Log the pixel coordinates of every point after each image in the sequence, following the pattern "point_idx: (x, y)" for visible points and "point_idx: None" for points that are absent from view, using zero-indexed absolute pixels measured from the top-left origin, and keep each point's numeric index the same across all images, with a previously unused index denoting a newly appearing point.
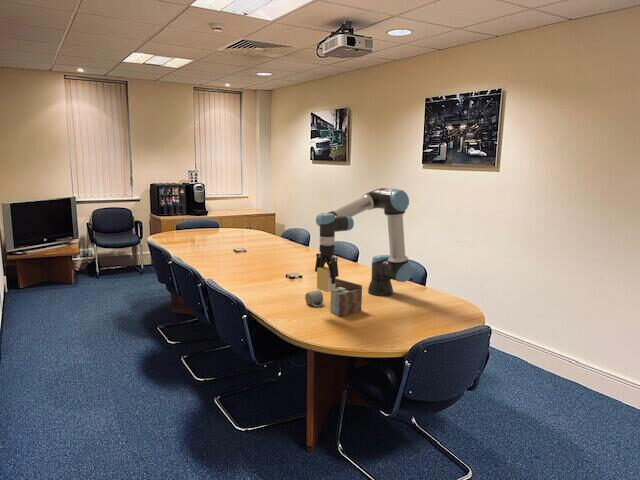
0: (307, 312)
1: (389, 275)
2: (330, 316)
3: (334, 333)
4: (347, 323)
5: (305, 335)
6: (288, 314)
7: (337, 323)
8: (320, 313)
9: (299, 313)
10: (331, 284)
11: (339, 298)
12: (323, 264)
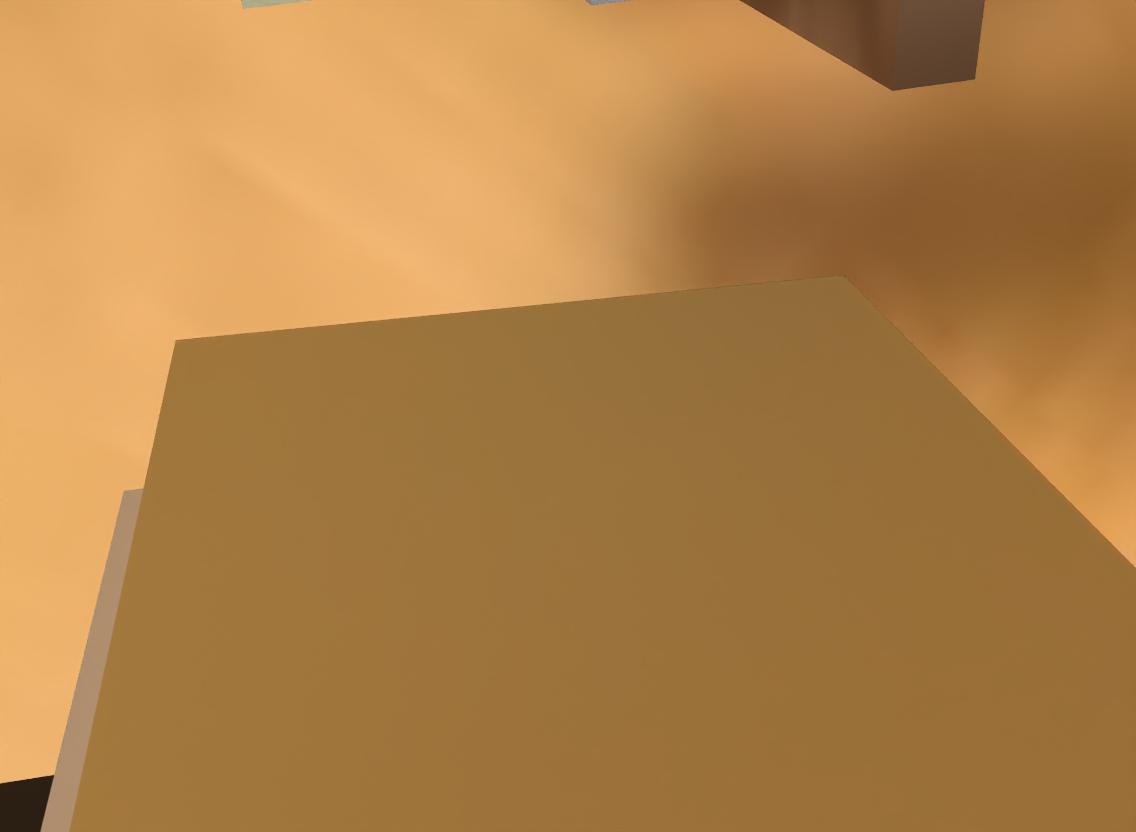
0: (46, 345)
1: None
2: (528, 93)
3: (1095, 490)
4: (1021, 72)
5: None
6: (5, 661)
7: (889, 225)
8: (243, 154)
9: (36, 496)
10: None
11: (838, 52)
12: None
